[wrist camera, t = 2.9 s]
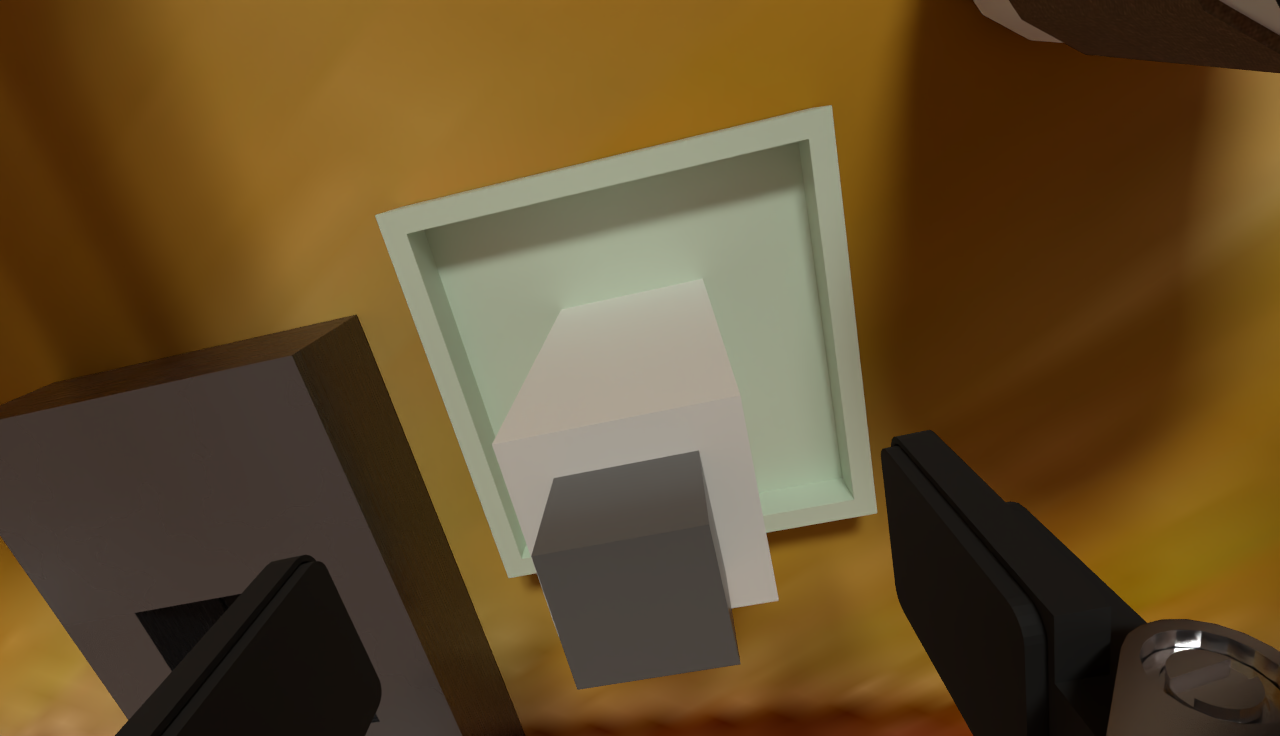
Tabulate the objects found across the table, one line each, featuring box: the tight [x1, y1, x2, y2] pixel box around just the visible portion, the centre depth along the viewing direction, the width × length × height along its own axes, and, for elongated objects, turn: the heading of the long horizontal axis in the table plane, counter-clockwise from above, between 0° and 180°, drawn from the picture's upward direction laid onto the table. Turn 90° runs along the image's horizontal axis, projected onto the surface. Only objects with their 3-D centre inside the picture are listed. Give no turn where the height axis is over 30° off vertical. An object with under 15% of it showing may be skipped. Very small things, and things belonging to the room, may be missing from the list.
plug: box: [492, 279, 779, 689], centre depth 13 cm, size 4×4×10 cm
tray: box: [375, 105, 877, 578], centre depth 18 cm, size 11×11×2 cm
